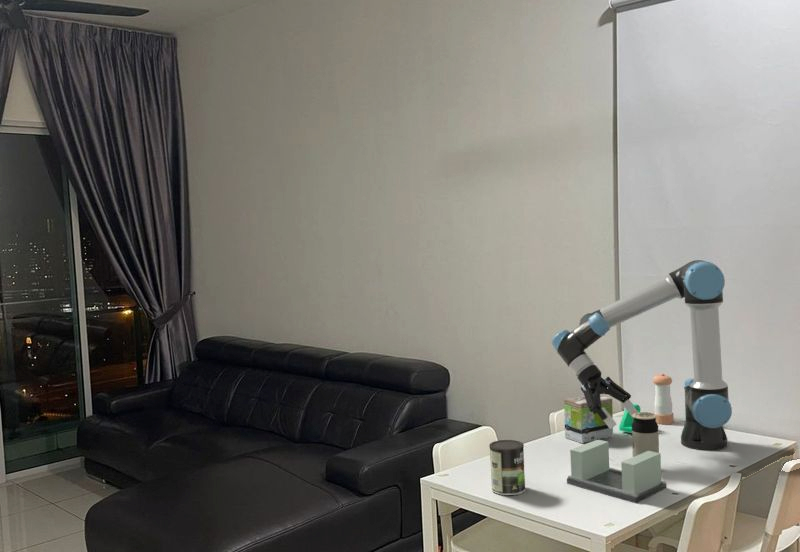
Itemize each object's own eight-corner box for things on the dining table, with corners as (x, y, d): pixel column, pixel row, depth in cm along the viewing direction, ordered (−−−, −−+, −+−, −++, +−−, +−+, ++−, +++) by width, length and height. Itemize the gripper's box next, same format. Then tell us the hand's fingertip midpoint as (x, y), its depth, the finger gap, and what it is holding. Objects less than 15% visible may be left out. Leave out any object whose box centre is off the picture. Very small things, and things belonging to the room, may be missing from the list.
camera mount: (635, 437, 270) (634, 409, 269) (619, 433, 276) (618, 406, 276) (657, 431, 276) (656, 404, 276) (640, 427, 283) (640, 400, 282)
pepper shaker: (671, 425, 282) (670, 375, 281) (652, 423, 286) (650, 374, 284) (675, 420, 288) (673, 372, 287) (656, 418, 292) (654, 371, 291)
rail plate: (567, 483, 226) (566, 476, 226) (598, 470, 236) (597, 463, 236) (636, 503, 208) (635, 495, 207) (666, 488, 218) (666, 481, 218)
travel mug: (662, 468, 235) (660, 413, 233) (656, 476, 228) (654, 419, 227) (637, 465, 239) (635, 410, 238) (630, 473, 232) (628, 416, 231)
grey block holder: (571, 478, 226) (570, 449, 225) (598, 467, 235) (597, 439, 234) (634, 496, 209) (633, 465, 208) (661, 483, 218) (660, 453, 217)
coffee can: (530, 486, 225) (528, 441, 224) (517, 498, 216) (515, 451, 215) (500, 482, 231) (497, 438, 230) (485, 493, 222) (483, 447, 221)
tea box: (582, 444, 264) (581, 403, 263) (564, 438, 273) (562, 398, 272) (614, 436, 271) (612, 397, 270) (595, 431, 280) (593, 392, 279)
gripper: (601, 371, 258) (640, 420, 247) (556, 383, 242) (595, 437, 231) (614, 358, 253) (654, 407, 242) (568, 369, 237) (609, 423, 227)
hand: (626, 422), depth 237 cm, fingers open, 13 cm apart
